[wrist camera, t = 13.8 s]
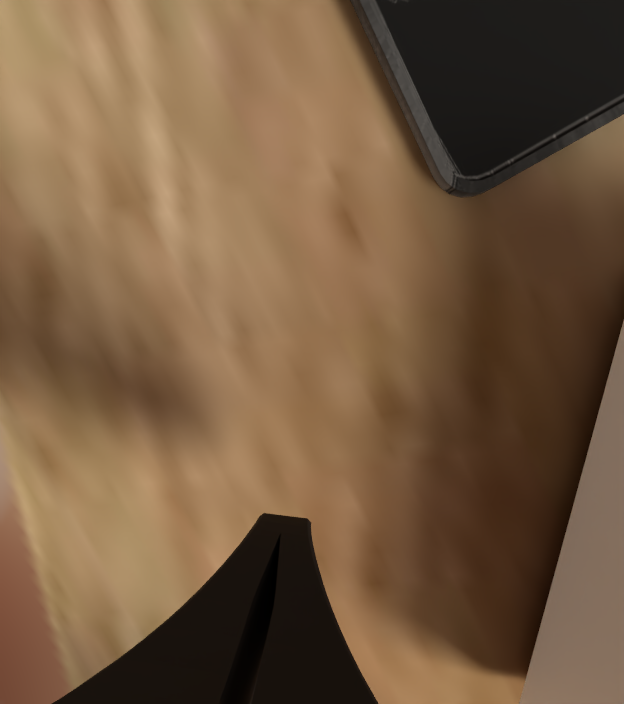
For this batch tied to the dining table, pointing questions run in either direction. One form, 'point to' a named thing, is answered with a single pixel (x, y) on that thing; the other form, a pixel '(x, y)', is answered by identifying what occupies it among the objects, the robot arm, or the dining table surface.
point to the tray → (588, 575)
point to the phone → (498, 79)
